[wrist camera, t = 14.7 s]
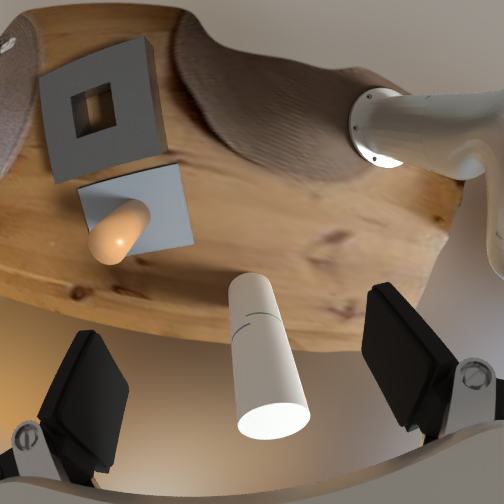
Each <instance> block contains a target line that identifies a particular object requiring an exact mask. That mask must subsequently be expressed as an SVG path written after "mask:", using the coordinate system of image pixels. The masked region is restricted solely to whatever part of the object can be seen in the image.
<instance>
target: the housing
mask: <svg viewBox="0 0 504 504" xmlns="http://www.w3.org/2000/svg"><path fill="white" fill-rule="evenodd" d="M39 87H40V98H41V108H42V116H43V123H44V130H45V136H46V142H47V148H48V153H49V158H50V163H51V168H52V172H53V177H54V181H55V185H56V184H59V183H62V182H64V181H67V180H70V179H73V178H76V177H80V176H83V175H86V174H89V173H92V172H96V171H99V170H102V169H106V168H109V167H113V166H116V165H120V164H124V163H128V162H131V161H135V160H139V159H143V158H147V157H152V156H156V155H160V154H163V153H165V152H167V151H168V146H167V140H166V134H165V128H164V122H163V116H162V110H161V104H160V97H159V90H158V83H157V76H156V68H155V60H154V52H153V46H152V44H151V43H150V42H149V41H148V40H147V39H146V38H145V37H144V36H143V37H139V38H136V39H133V40H129V41H126V42H123V43H120V44H117V45H114V46H111V47H108V48H106V49H103V50H100V51H97V52H95V53H92V54H90V55H87V56H85V57H82V58H80V59H78V60H75V61H73V62H71V63H69V64H66V65H64V66H62V67H60V68H58V69H56V70H54V71H52V72H50V73H48V74H46V75H44V76H42V77H40V78H39ZM110 90H111V91H112V98H113V105H114V112H115V118H116V124H117V126H114V127H110V128H107V129H104V130H101V131H98V132H95V133H92V134H91V129H90V123H89V116H88V110H87V102H86V99H87V98H90V97H93V96H95V95H98V94H101V93H104V92H107V91H110Z"/></svg>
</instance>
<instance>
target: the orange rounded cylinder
mask: <svg viewBox="0 0 504 504" xmlns="http://www.w3.org/2000/svg"><path fill="white" fill-rule="evenodd" d="M149 222H150V211H149V209H148V207H147V206H146V205H145V204H144V203H143V202H142V201H140V200H137V199H130V200H127V201H126V202H124V203H123V204H122V205H120V206H119V207H118V208H117V209H115V210H114V211H113V212H112V213H110V214H109V215H108V216H107V217H105V218H104V219H103V220H102V221H101V222H99V223H98V224H97V225H96V226H95V227H93V228H92V230H91V231H90V233H89V236H88V247H89V250H90V252H91V254H92V255H93V256H94V258H95V259H96V260H98V261H99V262H101V263H103V264H106V265H114V264H117V263H119V262H121V261H122V260H123V259H124V257H125V256H126V254H127V253H128V252H129V250H130V249H131V247H132V246H133V245H134V243H135V242H136V241H137V239H138V238H139V237H140V235H141V234H142V233H143V231H144V230H145V229H146V227H147V226H148V224H149Z"/></svg>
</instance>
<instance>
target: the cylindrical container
mask: <svg viewBox="0 0 504 504" xmlns="http://www.w3.org/2000/svg"><path fill="white" fill-rule="evenodd" d="M228 299H229V315H230V331H231V345H232V359H233V372H234V386H235V397H236V411H237V422H238V428H239V430H240V432H241V433H242V434H244V435H246V436H248V437H251V438H254V439H263V440H264V439H265V440H268V439H277V438H282V437H285V436H288V435H291V434H293V433H295V432H297V431H299V430H300V429H302V428H303V427H304V426H305V425H306V424H307V423H308V421H309V419H310V412H309V409H308V406H307V402H306V399H305V396H304V392H303V389H302V386H301V382H300V379H299V375H298V372H297V369H296V365H295V362H294V359H293V355H292V352H291V349H290V345H289V342H288V339H287V335H286V332H285V329H284V325H283V322H282V319H281V316H280V312H279V309H278V306H277V303H276V299H275V296H274V293H273V290H272V286H271V284H270V282H269V280H268V279H267V278H266V277H265V276H263V275H261V274H259V273H253V272H249V273H244V274H241V275H239V276H237V277H236V278H235V279H234V280H233V281H232V282H231V284H230V286H229V289H228Z"/></svg>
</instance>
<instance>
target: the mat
mask: <svg viewBox="0 0 504 504" xmlns="http://www.w3.org/2000/svg"><path fill="white" fill-rule="evenodd" d="M78 192H79V196H80V200H81V204H82V207H83V211H84V214H85V218H86V221H87V225H88V228H89V231H91V230H92V228H93V227H95V226H96V225H97V224H98V223H99V222H101V221H102V220H103V219H104V218H105V217H107V216H108V215H109V214H110V213H112V212H113V211H114V210H115V209H117V208H118V207H119V206H120V205H122V204H123V203H124V202H126V201H127V200H130V199H137V200H140V201H142V202H143V203H144V204H145V205H146V206H147V207H148V209H149V211H150V222H149V224H148V226H147V227H146V229H145V230H144V231H143V233H142V234H141V235H140V237H139V238H138V239H137V241H136V242H135V243H134V245H133V246H132V247H131V249H130V250H129V252H128V253H127V254H126V256H131V255H136V254H142V253H147V252H153V251H158V250H164V249H170V248H175V247H181V246H187V245H193V244H194V239H193V234H192V230H191V225H190V220H189V216H188V211H187V206H186V201H185V197H184V192H183V187H182V182H181V176H180V171H179V166H178V163H177V164H173V165H168V166H163V167H159V168H154V169H150V170H146V171H142V172H138V173H133V174H129V175H126V176H122V177H118V178H114V179H110V180H107V181H103V182H100V183H96V184H93V185H89V186H86V187H83V188H79V189H78Z"/></svg>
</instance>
